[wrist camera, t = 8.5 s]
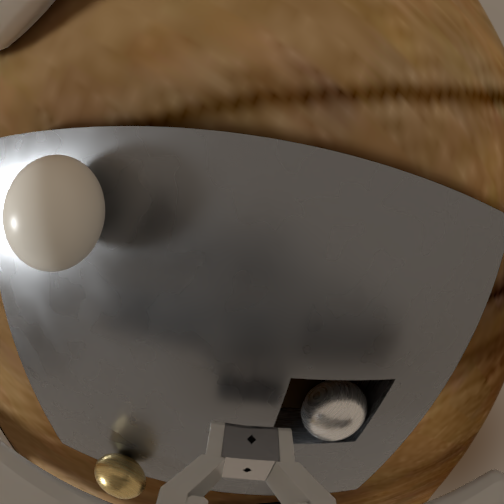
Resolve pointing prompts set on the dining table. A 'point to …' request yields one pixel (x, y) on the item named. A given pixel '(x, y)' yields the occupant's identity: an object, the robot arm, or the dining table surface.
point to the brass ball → (120, 476)
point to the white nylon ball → (53, 213)
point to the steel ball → (334, 410)
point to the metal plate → (245, 295)
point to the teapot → (19, 18)
